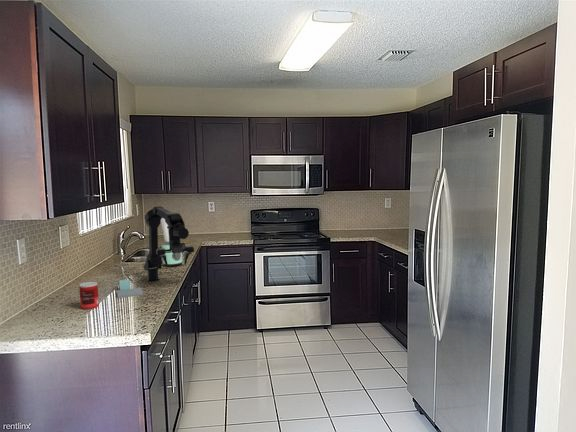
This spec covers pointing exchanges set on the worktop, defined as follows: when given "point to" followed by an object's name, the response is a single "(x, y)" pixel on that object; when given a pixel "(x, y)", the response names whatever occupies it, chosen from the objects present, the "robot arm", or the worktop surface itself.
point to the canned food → (89, 295)
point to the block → (124, 284)
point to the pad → (129, 292)
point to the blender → (171, 258)
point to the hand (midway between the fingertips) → (176, 266)
